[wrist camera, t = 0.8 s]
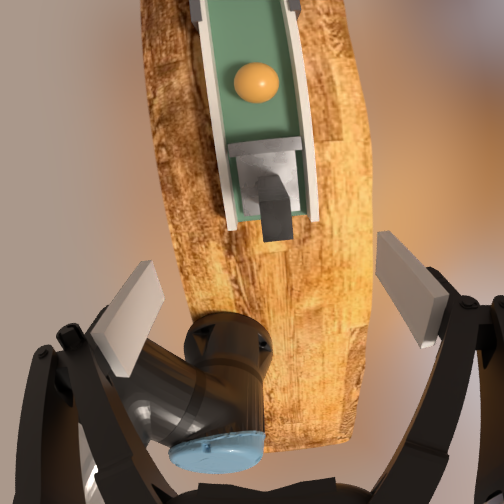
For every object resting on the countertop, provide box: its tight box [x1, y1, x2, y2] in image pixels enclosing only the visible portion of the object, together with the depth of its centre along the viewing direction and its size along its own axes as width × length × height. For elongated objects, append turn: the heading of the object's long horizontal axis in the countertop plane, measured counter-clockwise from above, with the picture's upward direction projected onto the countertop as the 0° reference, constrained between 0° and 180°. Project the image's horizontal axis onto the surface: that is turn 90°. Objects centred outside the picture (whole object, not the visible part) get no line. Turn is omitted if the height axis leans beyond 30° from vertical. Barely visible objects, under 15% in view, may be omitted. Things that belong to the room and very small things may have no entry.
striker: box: [228, 136, 302, 242], centre depth 28 cm, size 9×8×13 cm
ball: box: [234, 62, 279, 104], centre depth 28 cm, size 5×5×5 cm
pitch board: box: [198, 0, 319, 231], centre depth 29 cm, size 36×11×4 cm, turn 7°
